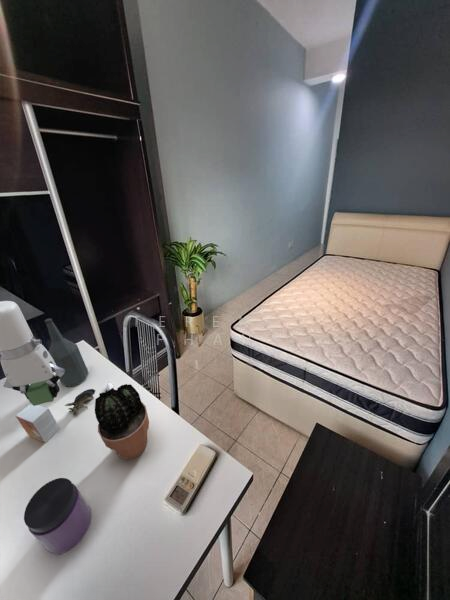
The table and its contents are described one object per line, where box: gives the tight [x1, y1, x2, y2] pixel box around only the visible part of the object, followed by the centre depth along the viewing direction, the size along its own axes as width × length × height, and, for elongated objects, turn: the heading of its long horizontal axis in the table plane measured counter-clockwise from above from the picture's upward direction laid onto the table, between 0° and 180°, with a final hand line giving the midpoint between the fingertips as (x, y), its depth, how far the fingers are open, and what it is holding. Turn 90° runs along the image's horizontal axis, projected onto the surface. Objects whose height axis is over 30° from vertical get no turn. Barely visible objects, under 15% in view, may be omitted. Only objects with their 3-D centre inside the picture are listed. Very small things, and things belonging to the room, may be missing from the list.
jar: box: [27, 482, 92, 555], centre depth 58 cm, size 10×10×12 cm
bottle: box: [44, 317, 89, 388], centre depth 98 cm, size 10×10×30 cm
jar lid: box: [23, 477, 77, 533], centre depth 55 cm, size 10×9×2 cm
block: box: [26, 381, 55, 406], centre depth 71 cm, size 5×5×5 cm
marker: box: [106, 382, 115, 391], centre depth 94 cm, size 18×2×2 cm, turn 40°
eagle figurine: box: [64, 388, 96, 416], centre depth 91 cm, size 8×7×9 cm
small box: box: [15, 403, 61, 444], centre depth 81 cm, size 8×6×10 cm
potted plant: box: [94, 383, 150, 460], centre depth 72 cm, size 14×14×25 cm
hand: (45, 395), depth 72 cm, fingers closed on block, 5 cm apart
